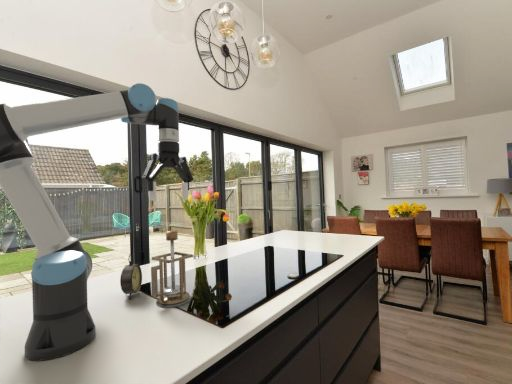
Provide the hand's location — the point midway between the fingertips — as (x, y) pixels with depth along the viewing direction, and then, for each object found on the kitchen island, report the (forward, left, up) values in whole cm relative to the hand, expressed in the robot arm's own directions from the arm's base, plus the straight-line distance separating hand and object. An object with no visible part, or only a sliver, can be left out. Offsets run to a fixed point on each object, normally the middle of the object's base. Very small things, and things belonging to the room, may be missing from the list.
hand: (170, 200), depth 97 cm
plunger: (0, 0, -34) cm, 34 cm away
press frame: (0, 0, -37) cm, 37 cm away
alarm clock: (-6, +19, -37) cm, 42 cm away
